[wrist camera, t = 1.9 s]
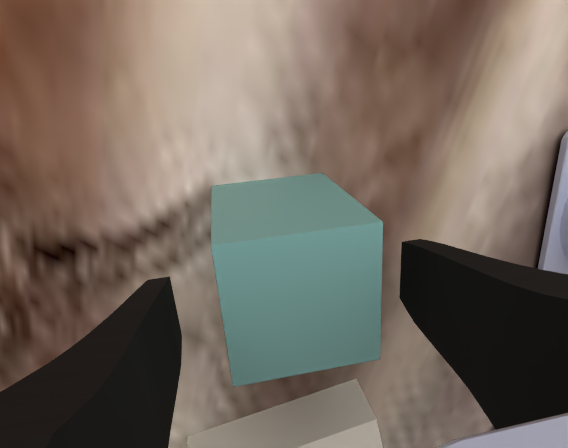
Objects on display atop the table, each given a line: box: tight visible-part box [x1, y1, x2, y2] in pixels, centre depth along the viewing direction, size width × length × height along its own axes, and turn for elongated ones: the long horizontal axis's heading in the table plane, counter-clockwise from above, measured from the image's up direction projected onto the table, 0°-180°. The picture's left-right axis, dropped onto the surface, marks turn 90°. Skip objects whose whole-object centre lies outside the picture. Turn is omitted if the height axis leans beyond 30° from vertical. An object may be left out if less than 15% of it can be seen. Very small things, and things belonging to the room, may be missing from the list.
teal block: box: [211, 173, 383, 387], centre depth 13 cm, size 4×4×6 cm
